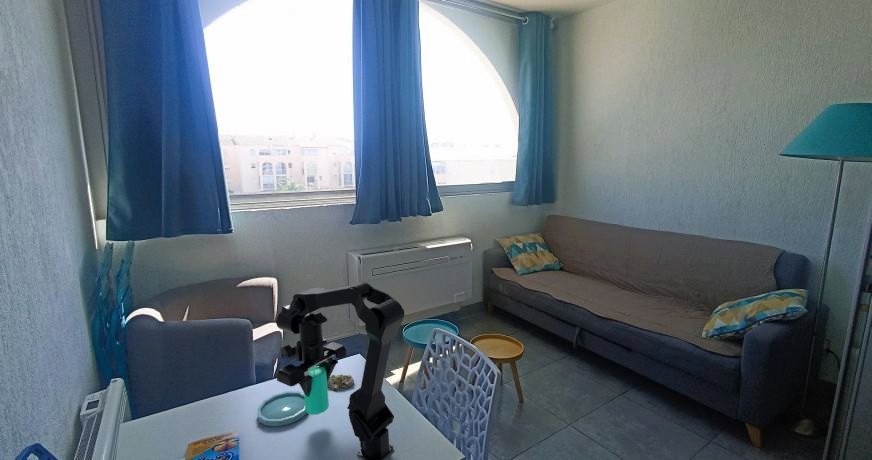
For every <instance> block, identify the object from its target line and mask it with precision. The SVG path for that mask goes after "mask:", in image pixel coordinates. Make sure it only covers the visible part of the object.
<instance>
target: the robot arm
mask: <svg viewBox="0 0 872 460" xmlns="http://www.w3.org/2000/svg"><path fill="white" fill-rule="evenodd" d="M365 300H366V301H368V302H369V303H372V304H375V306H373V307H371V308H369V307H368V306H367V305H366V304H365ZM348 304H351V305H352V306H353V307H354V310H355V312H356V315H357V317H358V319H359V320H361V322H362V323H364V324H365V329H364V330H365V332H366V334H367V337H368V339H369V341H368V347H367V352H366V356H365V363H364V369H363V374H362V377H361V378H362V379H361V384H360V387H359V388H358V389H356V390H355V391H353V392H352V393H351V394H350V396H349V398H348V399H349V401H348V402H349V404H348V406H347V410H348V418H349V421H350V424H351V427H352V431H353V435H354V436H355V437H357V438H358V440H359V444H360V449H359V450H358V451H357V452H356V455H357V457H359V458H361V459H363V460H384V459H385V458H386V457H388V455H389V454H390V453H391V452H392V451H393V450H394V446H393V445H392V444H390V438H389V429H388V428H387V427H388V426H390V424H392V423H393V422H394V418H395V416H394V414H393V412H392V411H391V410H390V408H389V407H388V405H387V403H386V396H385V394H384V392H383V390H382V389H383V383H384V379H385V374H386V368H387V364H388V359H389V353H390V349H391V344H392V340H393V338H394V337H395V335H396V334H397V333H398V331H399V330H400V328H401V326H402V324H403V321H404V317H405V310H404V308H403V306H402V305H401V304H400V302H399V301H397V300H396V299H395V298H393V297H392V296H391V295H389V293H386V292H384V291H381V290H379V289H376V288H374V287H373V286H372V285H371V284H369V283H368V282H360V283H356V284H352V285H348V286H347V285H346V286H341V287H336V288H331V289H325V288H324V287H312V288H310V289H306V290H304V291H303V290H302V291H301V292H298V293H295V294H293V296H292V301H291V303H290V304H285V305H283V306H281V311H280V312H279V313H278V315H277V318H276V320H275V323H276V327H277V328H278V329H279V330H283V331H284V332H288V333H291V334H294V335H295V334H296V335H298V334H299V340H298V341H297V342H296V343H294V344H292V345H290V344H287V345H284V346H281V347H280V355H281V359H283V360H287V359H288V360H289V361H290V360H292V359H295V361H296V362H298V363H300V362H301V363H300V364H299V365H297V366H296V365H294V364H291V363H289V364H288V365H285V366H283V367H282V368H280V369H278V370H277V372H276V381H277V382H279V383H281V384H283V385H286V386H288V387H295V386H296V385H299V386H300V388H301V389H302V393H305V395H306V396H307V397H309V395H310V392H311V386H312V376H309V375H308V370H309V369H311V368H312V367H314V366H317V367H324V368H325V370H326V375H327V383H328V380H329V378H330V377H331V376H332V374H333V372H334V370H335V368H336V366H337V364H338V363H339V360H341V359H342V358H345V357H346V356H347V348H346V346H345V345H343V344H341V343H338V342H335V341H331V342H330V343H328V341H327V339H326V338H324V335H323V334H324V333H323V324H324V323H326V322H327V321H328V318H327V317H326V316H325V315H324V314H323V313H322V312H319V313H313V312H316V311H318V310H321V309H324V308H328V307H334V306H343V305H348ZM327 343H328V344H327ZM337 359H338V360H337Z"/></svg>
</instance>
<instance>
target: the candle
mask: <svg viewBox="0 0 872 460" xmlns="http://www.w3.org/2000/svg"><path fill="white" fill-rule="evenodd" d="M308 375H309V376H312V386H311V392H310V395H309V397H307V396H306V395H305V393H304V392H303V393H304V399H305V410H306V412H307V413H306V414H308V415H311V416H313V415H319V414H323V413H324V412H326V411H327V410H328V409H329V407H330V405H329V404H330V402H329V390H328V389H329V388H327V375H326V370H325V368H324V367H319V366H318V365H316V366H314V367H312V368H311V369H309V370H308Z"/></svg>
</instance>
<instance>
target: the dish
mask: <svg viewBox="0 0 872 460" xmlns="http://www.w3.org/2000/svg"><path fill="white" fill-rule="evenodd" d="M256 410H257V411H256V412H257V413H256V414H257V415H256V416H257V420H258V422H259V423H260V424H262V425H264V426H265V427H281V426H282V427H283V426H287V425H290V424H294V423H295V422H297V421H299V420H301V419H302V418H303V417H304V416H306V415H307V414H308V413H307V412H306V410H305V399H304V392H303V391H299V390H297V391H296V390H291V391H283V392H281V393H280V392H279V393H277V394H274V395H272V396H270V397H268V398H267V399H265V400H263V401H262V402H261V403H260V405H259V406H258V407H257V408H256Z"/></svg>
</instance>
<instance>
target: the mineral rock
mask: <svg viewBox="0 0 872 460" xmlns="http://www.w3.org/2000/svg"><path fill="white" fill-rule="evenodd" d="M354 381H355V379H354V377H352V375H351V374H348V375H347V374H346V375H344V374H338V375H335V374H331V376H330V378H329V380H328V383H327V388H328V389H331V390H332V391H335V392H336V391H344V390H346V389H348V388H349V387H352V385H354V384H353V383H354Z"/></svg>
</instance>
